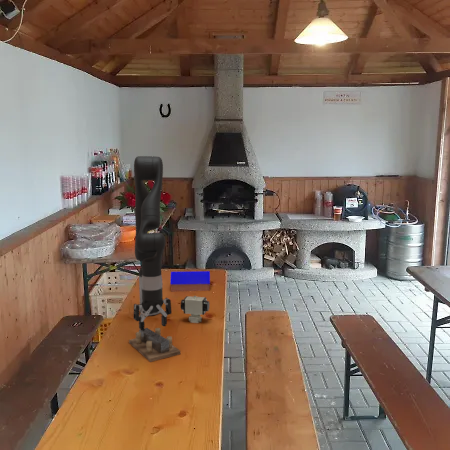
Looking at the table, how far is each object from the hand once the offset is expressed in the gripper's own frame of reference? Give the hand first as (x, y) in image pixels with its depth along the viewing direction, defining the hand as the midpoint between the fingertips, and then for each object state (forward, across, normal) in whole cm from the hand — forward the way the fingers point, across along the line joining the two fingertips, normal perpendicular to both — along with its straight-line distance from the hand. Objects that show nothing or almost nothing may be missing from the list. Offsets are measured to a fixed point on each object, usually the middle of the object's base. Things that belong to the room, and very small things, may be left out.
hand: (153, 328), depth 178 cm
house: (+10, -45, -54) cm, 71 cm away
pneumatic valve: (+8, -26, -15) cm, 31 cm away
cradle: (+8, 0, +1) cm, 8 cm away
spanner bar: (+7, 0, 0) cm, 7 cm away
